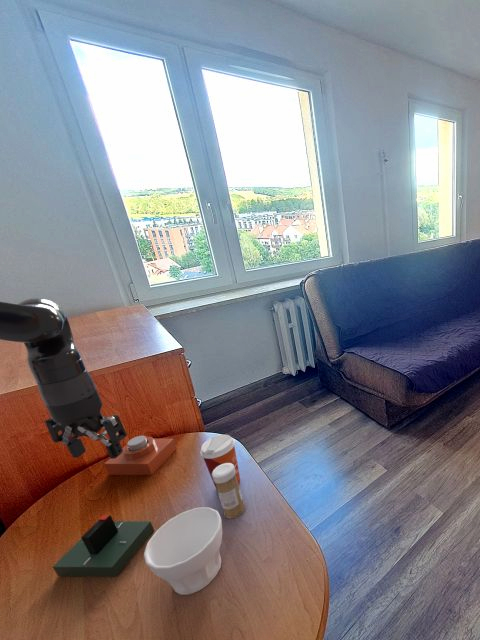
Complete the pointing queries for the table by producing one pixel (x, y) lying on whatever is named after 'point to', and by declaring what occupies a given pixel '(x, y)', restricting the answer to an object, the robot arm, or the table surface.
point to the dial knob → (99, 534)
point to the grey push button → (137, 443)
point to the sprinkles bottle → (228, 490)
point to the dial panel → (105, 552)
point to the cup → (187, 550)
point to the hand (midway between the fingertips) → (98, 455)
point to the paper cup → (219, 453)
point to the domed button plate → (141, 458)
